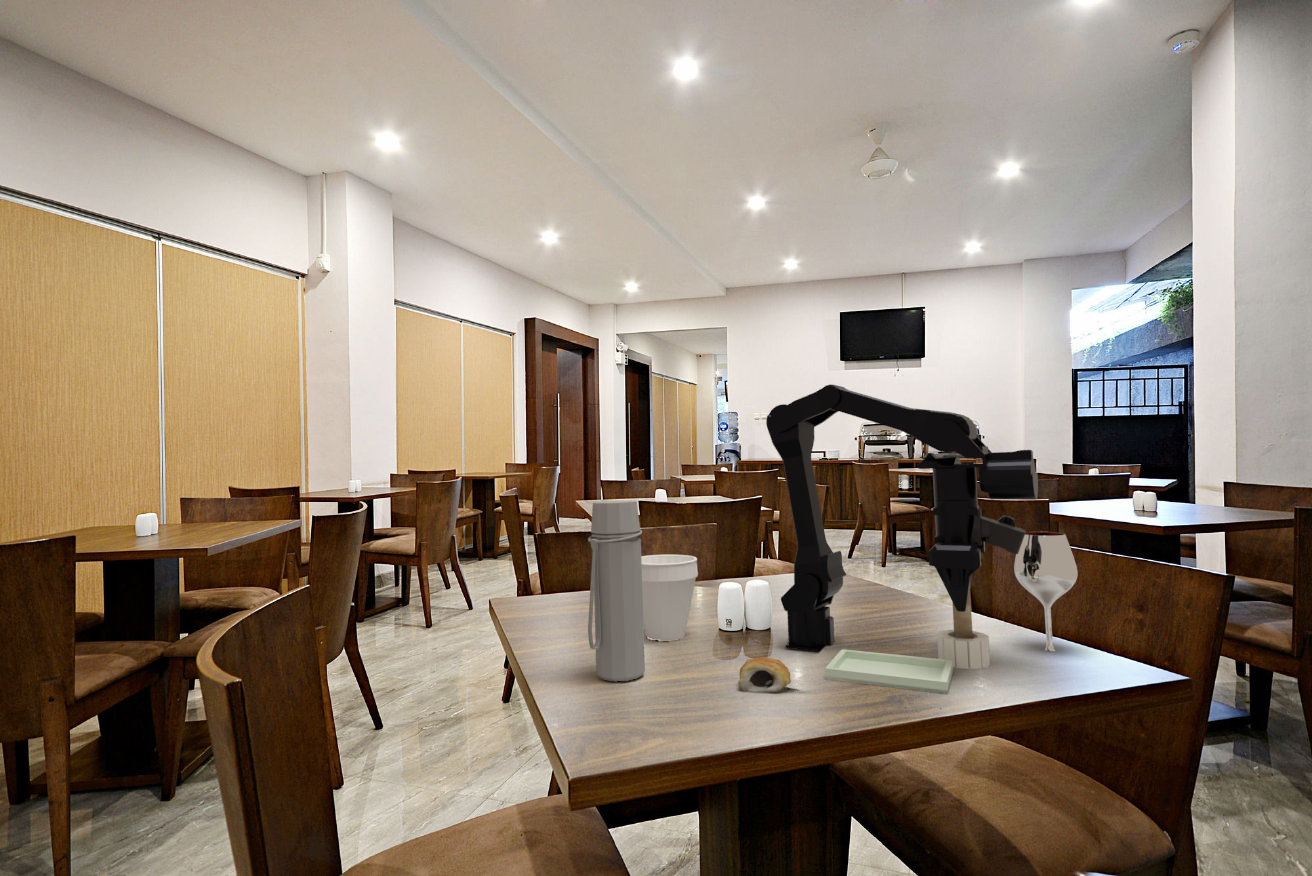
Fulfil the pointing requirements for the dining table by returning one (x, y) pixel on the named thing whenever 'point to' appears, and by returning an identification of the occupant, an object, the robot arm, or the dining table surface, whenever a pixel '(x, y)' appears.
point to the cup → (667, 594)
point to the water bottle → (617, 591)
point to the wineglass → (1046, 570)
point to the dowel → (963, 621)
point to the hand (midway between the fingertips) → (961, 609)
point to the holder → (964, 650)
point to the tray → (891, 671)
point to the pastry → (764, 675)
